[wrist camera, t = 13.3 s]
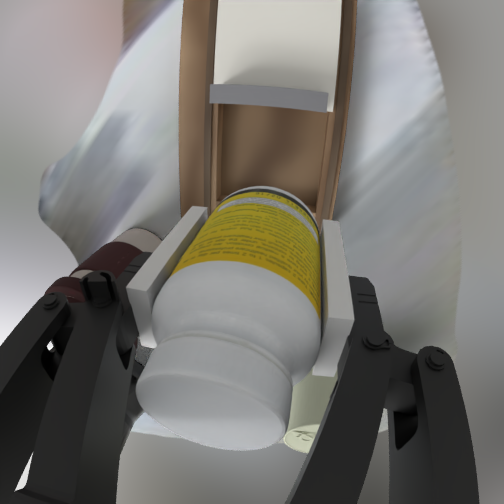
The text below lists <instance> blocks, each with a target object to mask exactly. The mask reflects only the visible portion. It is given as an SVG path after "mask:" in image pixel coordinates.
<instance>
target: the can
mask: <svg viewBox="0 0 504 504" xmlns="http://www.w3.org/2000/svg"><path fill="white" fill-rule="evenodd" d="M312 371H313V368H312V369H311V371H310V372H309V374H308V375H307V376H306V377H305V378H304V379H303V380H302V381H301V382H299V383H298V384H296V385H295V386H294V387H293V392H292V403H291V411H290V418H289V425H288V429H287V432H286V434H285V435H284V442H285V444H286V445H287V446H289V447H290V448H292V449H294V450H297V451H300V452H304V453H309V450H310V448H311V446H312V443H313V441H314V438H315V436H316V434H317V431H318V429H319V426H320V424H321V421H322V418H323V416H324V413H325V411H326V408H327V405H328V402H329V400H330V395H331V393H332V391H333V388H334V386H335V383H336V381H337V379H338V375H337V370H336V373H335V376H334V377H328V376H317V375H312Z"/></svg>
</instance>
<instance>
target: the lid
mask: <svg viewBox="0 0 504 504" xmlns="http://www.w3.org/2000/svg"><path fill="white" fill-rule="evenodd" d="M341 4H342V0H218V13H217V28H216V45H215V64H214V84H210V103H218V104H243V105H258V106H271V107H282V108H292V109H301V110H309V111H316V112H324V113H327V111H329V112H333V106H334V97H335V87H336V76H337V65H338V53H339V39H340V23H341Z"/></svg>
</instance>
